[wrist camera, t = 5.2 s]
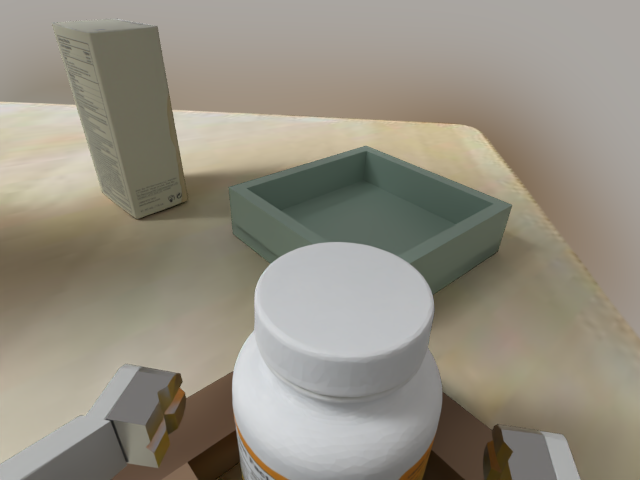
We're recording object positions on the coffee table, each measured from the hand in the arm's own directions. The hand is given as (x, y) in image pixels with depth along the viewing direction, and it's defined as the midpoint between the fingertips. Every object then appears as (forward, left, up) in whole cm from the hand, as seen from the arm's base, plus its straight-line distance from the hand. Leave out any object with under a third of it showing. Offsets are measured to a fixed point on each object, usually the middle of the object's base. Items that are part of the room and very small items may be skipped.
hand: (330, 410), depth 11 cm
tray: (-11, +13, -6) cm, 18 cm away
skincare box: (-26, +4, -6) cm, 27 cm away
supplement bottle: (0, 0, -6) cm, 6 cm away
